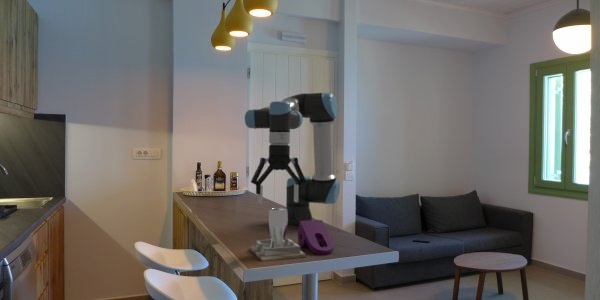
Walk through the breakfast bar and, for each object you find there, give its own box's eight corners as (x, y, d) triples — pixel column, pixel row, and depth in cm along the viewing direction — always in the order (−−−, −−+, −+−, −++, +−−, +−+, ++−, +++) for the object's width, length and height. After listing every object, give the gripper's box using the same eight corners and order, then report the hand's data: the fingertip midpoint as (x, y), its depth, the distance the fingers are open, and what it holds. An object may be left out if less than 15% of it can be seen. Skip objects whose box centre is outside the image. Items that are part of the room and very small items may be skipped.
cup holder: (250, 249, 153) (250, 239, 153) (290, 245, 159) (290, 237, 158) (261, 260, 138) (262, 250, 138) (305, 257, 144) (305, 247, 144)
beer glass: (264, 249, 149) (265, 208, 148) (279, 246, 153) (280, 207, 153) (275, 253, 143) (276, 211, 143) (291, 250, 148) (291, 209, 148)
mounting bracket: (333, 267, 152) (318, 236, 167) (338, 249, 148) (322, 220, 164) (309, 269, 149) (296, 237, 164) (313, 251, 145) (299, 220, 161)
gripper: (248, 144, 139) (247, 205, 140) (315, 144, 148) (314, 202, 149) (243, 143, 146) (242, 202, 147) (307, 144, 155) (306, 199, 156)
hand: (278, 202), depth 148 cm, fingers open, 13 cm apart
